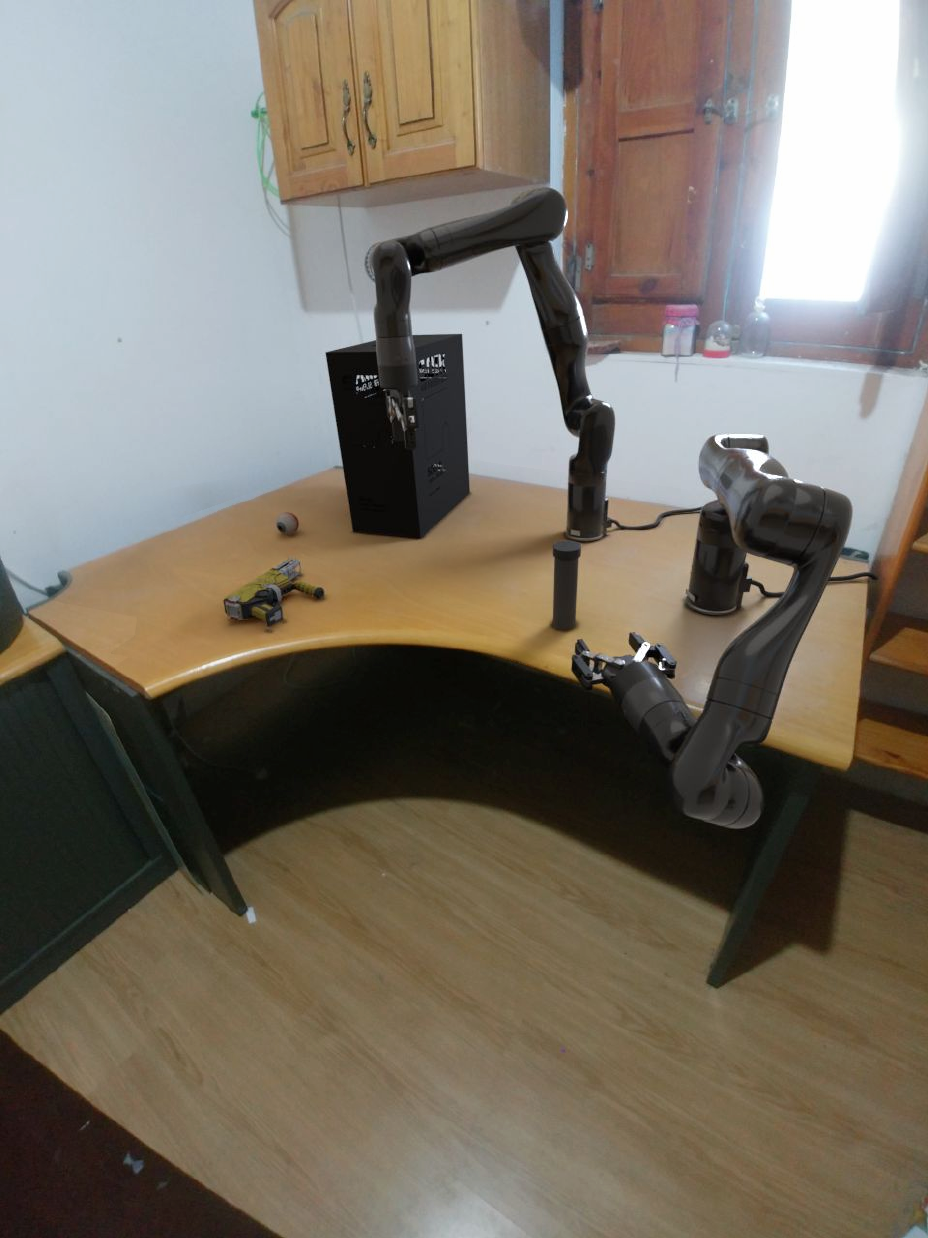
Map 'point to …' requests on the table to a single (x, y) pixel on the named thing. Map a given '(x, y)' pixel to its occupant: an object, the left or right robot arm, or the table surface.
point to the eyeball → (287, 523)
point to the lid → (566, 550)
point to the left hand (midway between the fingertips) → (404, 444)
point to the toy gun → (268, 594)
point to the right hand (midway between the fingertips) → (605, 640)
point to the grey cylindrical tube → (565, 593)
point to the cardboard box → (384, 469)
